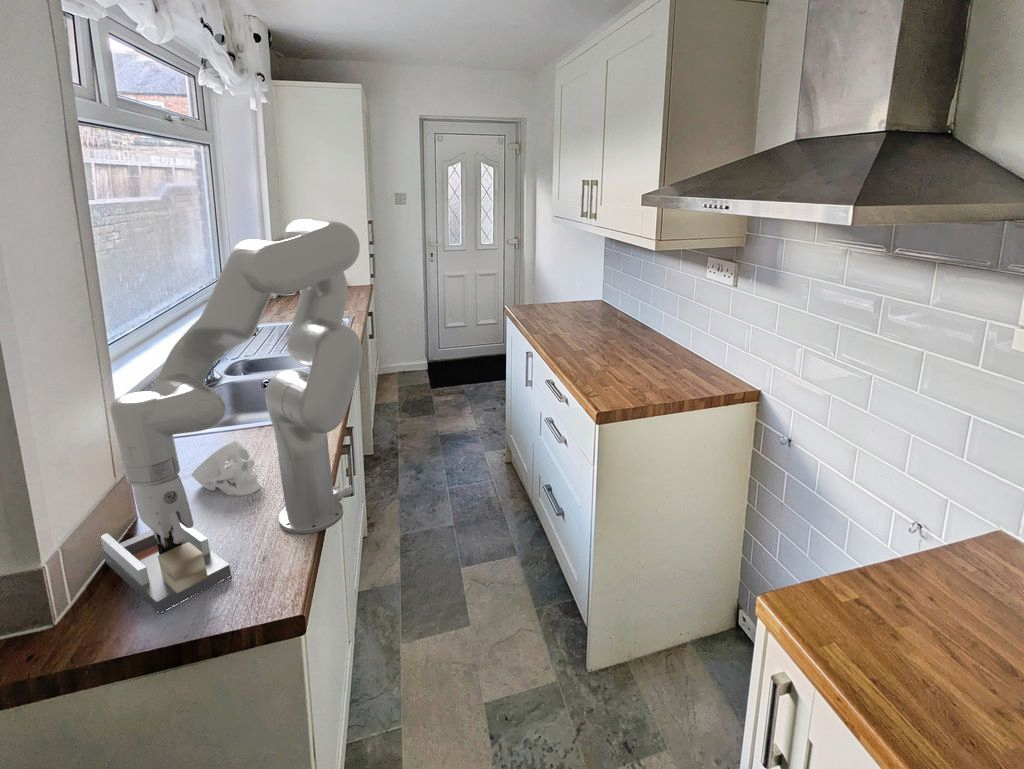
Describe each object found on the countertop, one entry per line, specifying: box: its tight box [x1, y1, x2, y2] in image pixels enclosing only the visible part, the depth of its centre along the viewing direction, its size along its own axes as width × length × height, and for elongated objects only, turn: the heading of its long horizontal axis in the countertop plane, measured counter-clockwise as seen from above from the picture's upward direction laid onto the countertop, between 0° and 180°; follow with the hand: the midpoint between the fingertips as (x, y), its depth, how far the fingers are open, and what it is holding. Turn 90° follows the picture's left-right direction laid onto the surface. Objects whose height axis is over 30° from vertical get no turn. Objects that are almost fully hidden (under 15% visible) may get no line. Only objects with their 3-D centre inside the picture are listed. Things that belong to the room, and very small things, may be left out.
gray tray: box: [100, 523, 232, 614], centre depth 104 cm, size 22×12×6 cm, turn 53°
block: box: [158, 542, 208, 593], centre depth 97 cm, size 5×5×5 cm
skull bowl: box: [191, 439, 261, 497], centre depth 132 cm, size 10×14×12 cm
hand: (173, 561), depth 101 cm, fingers closed
